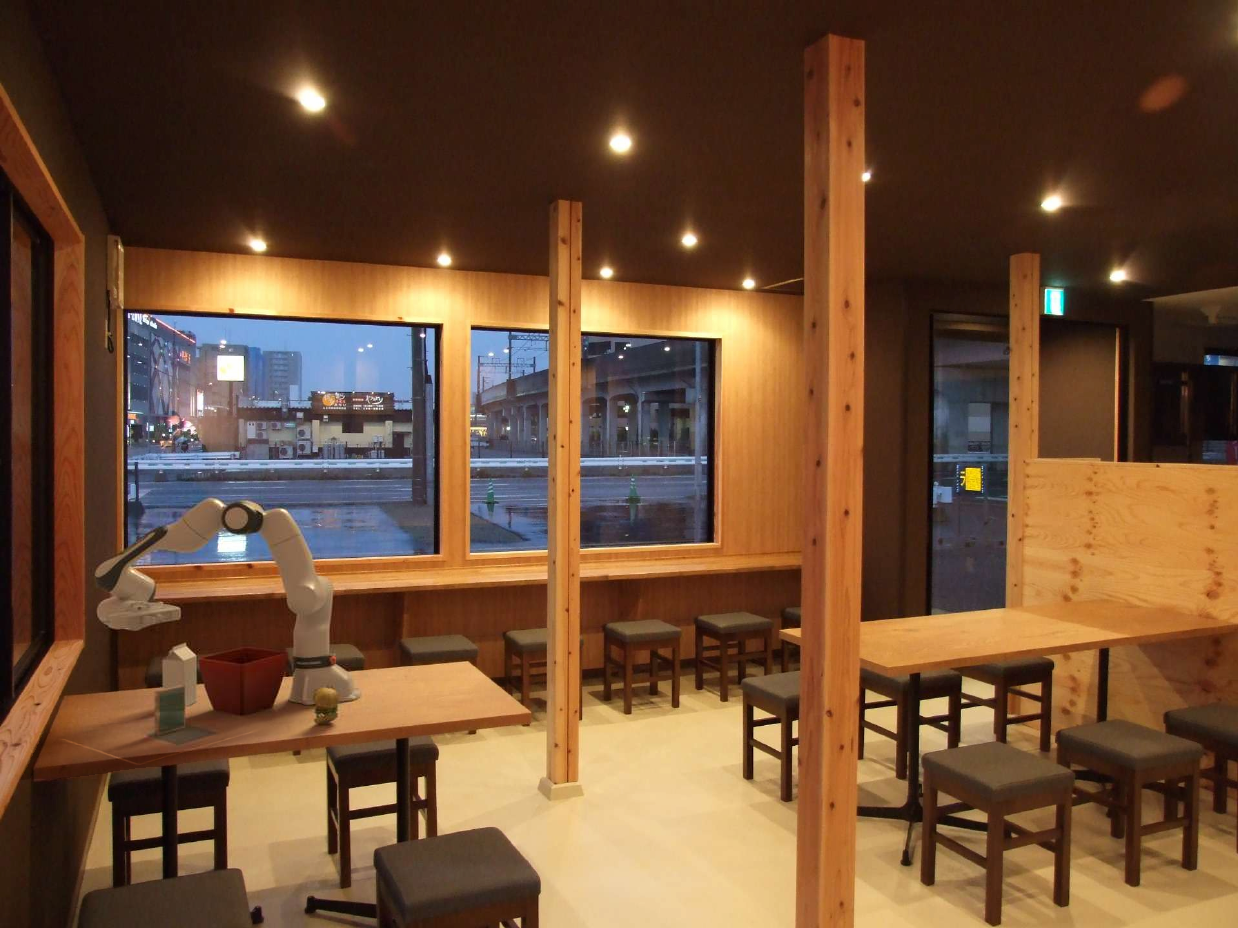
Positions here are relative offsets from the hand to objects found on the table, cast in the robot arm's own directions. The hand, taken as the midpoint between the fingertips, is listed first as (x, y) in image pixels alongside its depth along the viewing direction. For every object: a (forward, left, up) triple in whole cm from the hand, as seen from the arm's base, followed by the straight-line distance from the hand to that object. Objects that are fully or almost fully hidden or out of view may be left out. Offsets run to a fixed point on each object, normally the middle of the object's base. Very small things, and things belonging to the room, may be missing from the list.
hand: (158, 619), depth 272 cm
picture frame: (-6, +13, -30) cm, 33 cm away
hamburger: (-49, +15, -30) cm, 60 cm away
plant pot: (-22, -8, -30) cm, 38 cm away
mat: (-11, +18, -30) cm, 36 cm away
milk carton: (-1, -17, -30) cm, 34 cm away
